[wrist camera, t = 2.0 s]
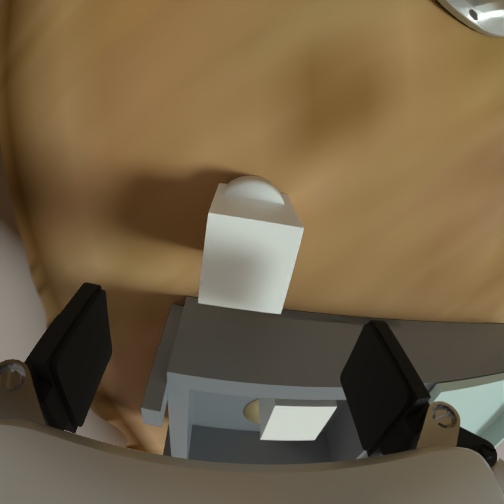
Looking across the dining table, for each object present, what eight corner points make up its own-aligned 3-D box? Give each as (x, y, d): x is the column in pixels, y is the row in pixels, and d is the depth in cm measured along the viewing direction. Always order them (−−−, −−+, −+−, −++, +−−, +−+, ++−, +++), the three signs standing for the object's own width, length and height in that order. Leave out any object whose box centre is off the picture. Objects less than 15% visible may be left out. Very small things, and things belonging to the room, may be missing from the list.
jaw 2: (269, 344, 21) (275, 405, 16) (321, 348, 21) (337, 406, 16) (255, 388, 23) (258, 444, 18) (302, 391, 24) (311, 444, 19)
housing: (172, 293, 20) (138, 397, 12) (504, 323, 23) (546, 376, 15) (172, 419, 27) (160, 493, 19) (435, 417, 30) (457, 467, 22)
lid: (436, 383, 16) (455, 420, 13) (538, 364, 17) (553, 385, 14) (343, 482, 22) (348, 508, 20) (453, 456, 24) (461, 476, 21)
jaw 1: (221, 170, 17) (210, 195, 12) (290, 181, 17) (308, 211, 12) (209, 252, 19) (197, 302, 14) (271, 261, 19) (280, 314, 14)
